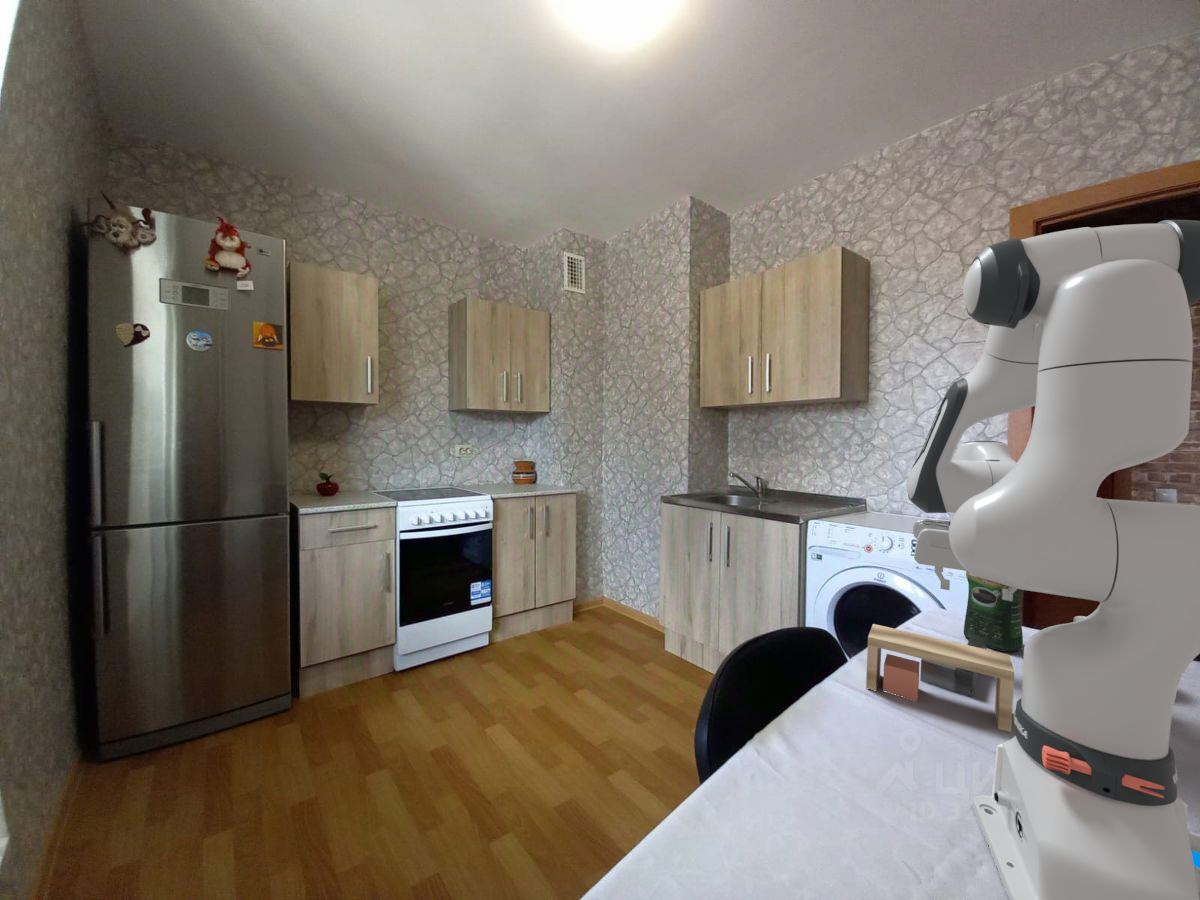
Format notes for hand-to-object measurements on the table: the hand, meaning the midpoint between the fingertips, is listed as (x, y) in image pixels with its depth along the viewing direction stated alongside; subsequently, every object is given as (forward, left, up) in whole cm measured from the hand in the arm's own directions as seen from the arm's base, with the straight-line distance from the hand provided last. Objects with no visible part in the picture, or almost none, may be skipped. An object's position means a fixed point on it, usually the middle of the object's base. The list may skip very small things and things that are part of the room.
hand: (974, 594), depth 91 cm
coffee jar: (+16, -4, -15) cm, 22 cm away
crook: (-3, +3, -15) cm, 15 cm away
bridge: (-19, +6, -14) cm, 24 cm away
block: (-19, +10, -15) cm, 26 cm away
